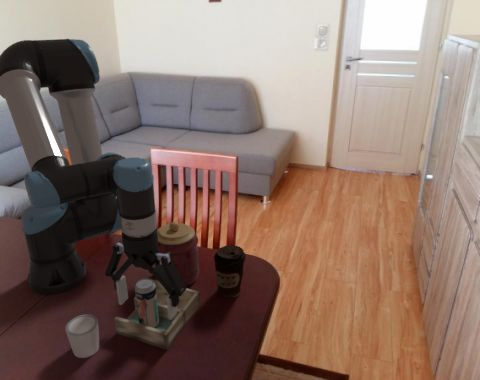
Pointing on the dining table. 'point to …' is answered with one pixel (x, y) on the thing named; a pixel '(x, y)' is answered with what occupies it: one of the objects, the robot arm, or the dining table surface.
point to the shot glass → (83, 335)
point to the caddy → (160, 319)
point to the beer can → (147, 303)
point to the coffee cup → (229, 270)
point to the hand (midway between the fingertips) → (147, 308)
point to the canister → (180, 249)
